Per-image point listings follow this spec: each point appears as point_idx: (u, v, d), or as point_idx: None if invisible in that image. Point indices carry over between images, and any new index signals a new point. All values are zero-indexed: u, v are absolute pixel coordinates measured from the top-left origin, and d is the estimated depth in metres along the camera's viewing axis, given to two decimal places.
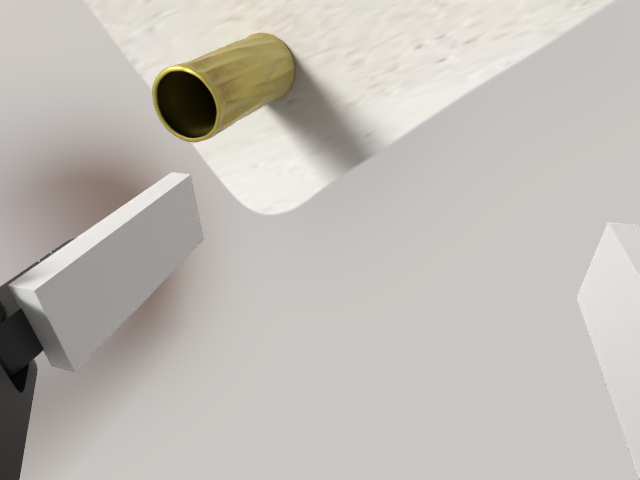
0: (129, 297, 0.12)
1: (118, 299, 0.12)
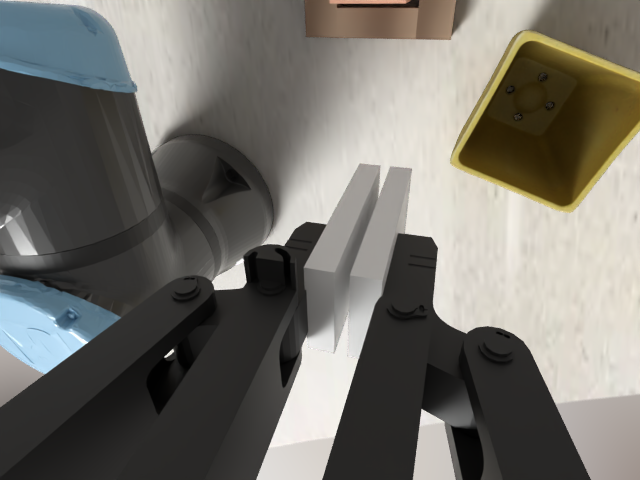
0: None
1: None
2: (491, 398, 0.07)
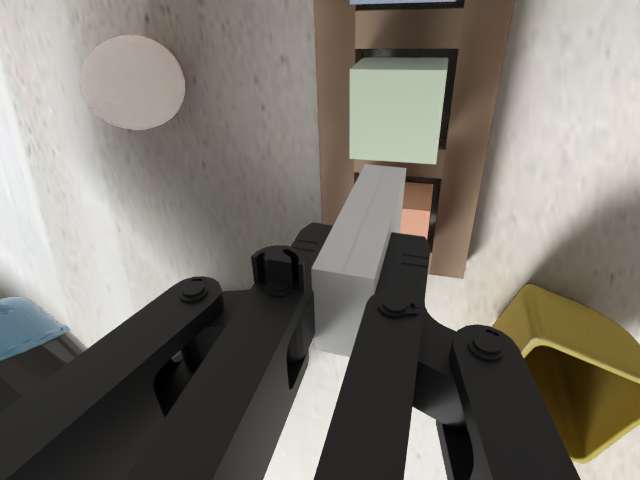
0: None
1: None
2: (481, 396, 0.07)
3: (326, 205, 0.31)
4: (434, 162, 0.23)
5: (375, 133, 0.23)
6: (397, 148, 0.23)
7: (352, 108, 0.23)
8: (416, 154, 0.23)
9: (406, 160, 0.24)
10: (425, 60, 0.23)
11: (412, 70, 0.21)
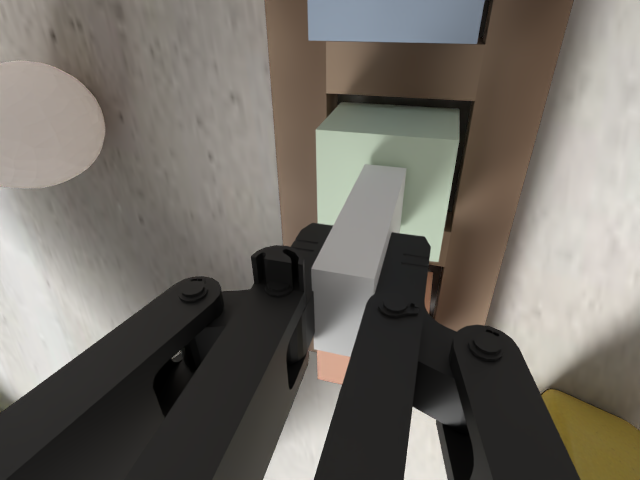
0: None
1: None
2: (480, 396, 0.07)
3: None
4: (436, 259, 0.16)
5: None
6: None
7: (320, 181, 0.16)
8: None
9: None
10: (427, 113, 0.16)
11: (407, 137, 0.14)
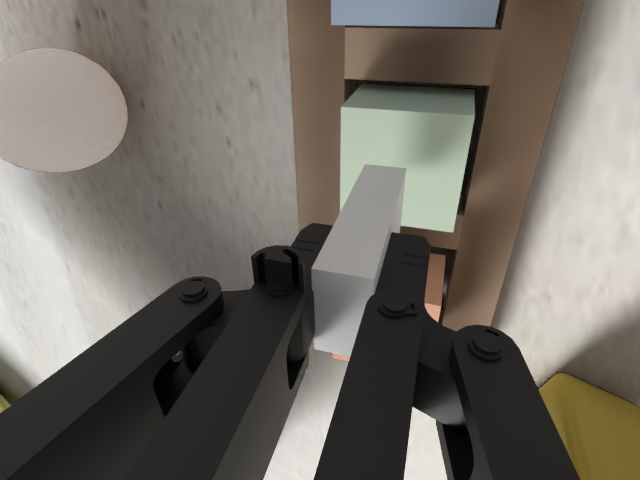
0: None
1: None
2: (480, 396, 0.07)
3: None
4: (451, 230, 0.18)
5: None
6: (402, 209, 0.18)
7: (344, 156, 0.17)
8: (427, 218, 0.18)
9: (414, 225, 0.18)
10: (443, 93, 0.18)
11: (426, 113, 0.15)
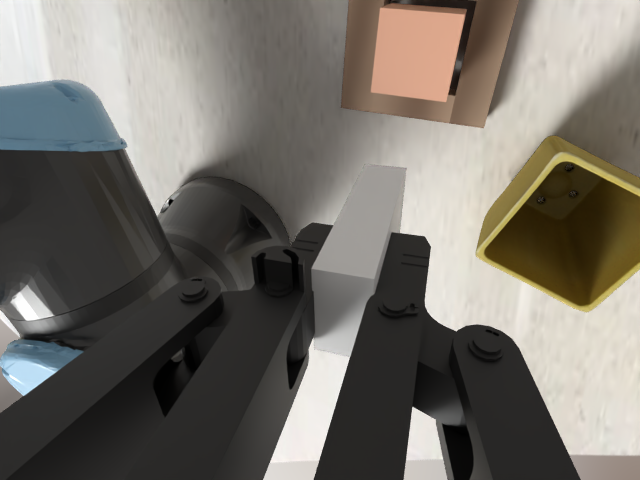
0: None
1: None
2: (480, 396, 0.07)
3: (351, 37, 0.30)
4: None
5: None
6: None
7: None
8: None
9: None
10: None
11: None
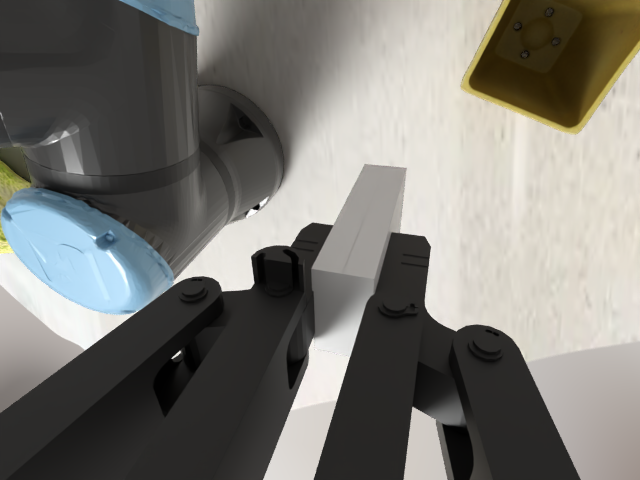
0: None
1: None
2: (480, 396, 0.07)
3: None
4: None
5: None
6: None
7: None
8: None
9: None
10: None
11: None
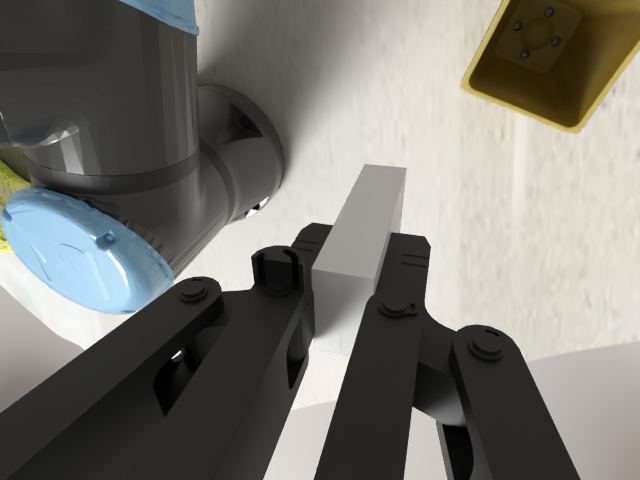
0: None
1: None
2: (480, 396, 0.07)
3: None
4: None
5: None
6: None
7: None
8: None
9: None
10: None
11: None
